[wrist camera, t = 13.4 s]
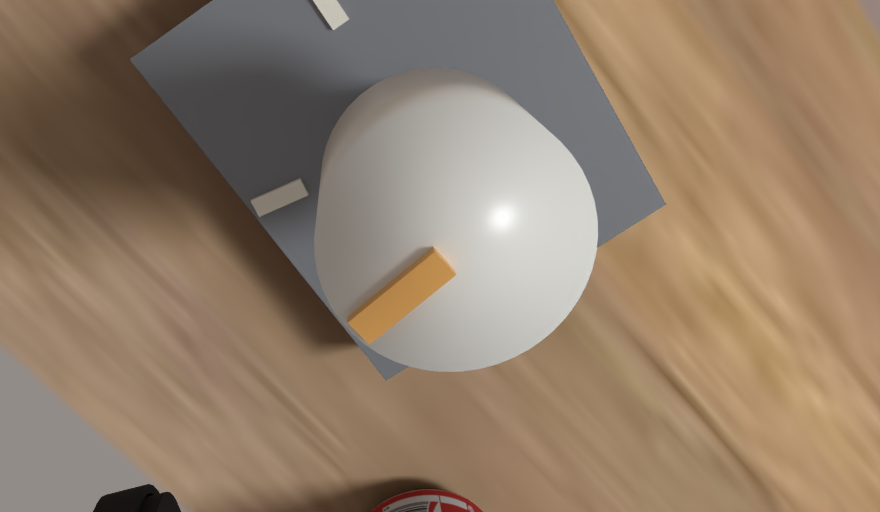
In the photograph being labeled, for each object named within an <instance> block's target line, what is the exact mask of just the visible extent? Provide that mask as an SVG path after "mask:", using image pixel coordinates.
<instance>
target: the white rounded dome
mask: <svg viewBox="0 0 880 512" xmlns="http://www.w3.org/2000/svg"><path fill="white" fill-rule="evenodd" d="M597 241H598V218H597V212H596V206H595V201H594V198H593V194H592V191H591V188H590V185H589V183H588V181H587V179H586V177H585V175H584V172H583V170H582V168H581V167H580V165H579V164H578V163H577V161H576V160H575V158H574V157H573V155H572V154H571V153H570V151H569V150H568V149H567V148H566V147H565V146H564V145H563V144H562V143H561V141H560V140H558V139H557V138H556V137H555V136H554V135H553V134H552V133H551V132H550V131H548V130H547V129H546V128H545V127H544V126H543V125H542V124H541V123H539V122H538V121H537V120H536V119H535V118H534V117H533V116H532V115H531V114H529V113H528V112H527V111H526V110H525V109H524V108H523V107H522V106H521V105H519V104H518V103H517V102H516V101H515V100H514V99H513V98H512V97H510V96H509V95H508V94H507V93H506V92H504V91H503V90H502V89H501V88H499V87H498V86H496V85H495V84H493V83H491V82H490V81H488V80H486V79H484V78H482V77H480V76H477V75H475V74H472V73H469V72H465V71H462V70H457V69H451V68H441V67H428V68H419V69H413V70H409V71H405V72H401V73H398V74H395V75H393V76H390V77H388V78H385V79H384V80H382V81H380V82H378V83H377V84H375V85H373V86H371V87H370V88H369V89H367V90H366V91H365V92H363V93H362V94H361V95H359V96H358V97H357V98H356V99H355V100H354V101H353V102H352V103H351V104H350V105H349V106H348V108H347V109H346V110H345V112H344V113H343V114H342V115H341V117H340V118H339V120H338V121H337V123H336V125H335V127H334V128H333V130H332V132H331V135H330V137H329V139H328V142H327V144H326V148H325V152H324V156H323V160H322V169H321V178H320V187H319V197H318V206H317V216H316V225H315V234H314V255H315V262H316V268H317V274H318V277H319V280H320V283H321V286H322V289H323V292H324V294H325V296H326V298H327V300H328V302H329V304H330V306H331V308H332V309H333V311H334V312H335V314H336V315H337V317H338V318H339V320H340V321H341V322H342V323H343V324H344V326H345V327H346V328H347V329H348V330H349V331H350V332H351V333H352V334H353V335H354V336H355V337H356V338H357V339H359V340H360V341H361V342H362V343H363V344H364V345H366V346H368V347H369V348H371V349H372V350H374V351H375V352H377V353H378V354H380V355H382V356H384V357H386V358H388V359H390V360H392V361H395V362H398V363H401V364H404V365H406V366H409V367H414V368H418V369H423V370H428V371H440V372H460V371H468V370H475V369H481V368H485V367H489V366H492V365H496V364H499V363H501V362H504V361H506V360H509V359H512V358H514V357H516V356H518V355H519V354H521V353H523V352H525V351H527V350H529V349H530V348H532V347H533V346H535V345H536V344H537V343H539V342H540V341H542V340H543V339H544V338H545V337H547V336H548V335H549V334H550V333H551V332H552V331H554V330H555V329H556V328H557V327H558V326H559V324H560V323H561V322H562V321H563V320H564V319H565V318H566V317H567V316H568V314H569V313H570V311H571V310H572V309H573V307H574V306H575V304H576V303H577V302H578V300H579V298H580V296H581V294H582V292H583V290H584V289H585V287H586V284H587V282H588V279H589V277H590V274H591V272H592V268H593V264H594V260H595V256H596V250H597Z"/></svg>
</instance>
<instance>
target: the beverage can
mask: <svg viewBox="0 0 880 512" xmlns="http://www.w3.org/2000/svg"><path fill="white" fill-rule="evenodd" d="M371 512H482V511H481V510H480V509H479V508H478V507H477V506H476V505H475V504H474V503H472V502H471V501H469V500H468V499H466V498H464V497H462V496H460V495H458V494H455V493H452V492H448V491H443V490H435V489H422V490H414V491H409V492H405V493H402V494H399V495H396V496H394V497H392V498H390V499H388V500H386V501H384V502H383V503H381V504H380V505H378V506H377V507H376V508H374V509H373V510H372V511H371Z"/></svg>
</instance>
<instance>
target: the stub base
mask: <svg viewBox="0 0 880 512" xmlns="http://www.w3.org/2000/svg"><path fill="white" fill-rule="evenodd" d="M129 60H130V61H131V62H132V63H133V65H134V66H135V67H136V68H137V70H138V71H139V72H140V73H141V75H142V76H143V77H144V79H145V80H146V81H147V82H148V84H149V85H150V86H151V87H152V89H153V90H154V91H155V92H156V94H157V95H158V96H159V97H160V99H161V100H162V101H163V102H164V104H165V105H166V106H167V107H168V109H169V110H170V111H171V112H172V114H173V115H174V116H175V117H176V119H177V120H178V121H179V122H180V124H181V125H182V126H183V127H184V129H185V130H186V131H187V132H188V134H189V135H190V136H191V137H192V139H193V140H194V141H195V142H196V144H197V145H198V146H199V147H200V149H201V150H202V151H203V152H204V154H205V155H206V156H207V157H208V159H209V160H210V161H211V162H212V164H213V165H214V166H215V167H216V169H217V170H218V171H219V172H220V174H221V175H222V176H223V177H224V179H225V180H226V181H227V182H228V184H229V185H230V186H231V187H232V189H233V190H234V191H235V192H236V194H237V195H238V196H239V197H240V199H241V200H242V201H243V202H244V204H245V205H246V206H247V207H248V209H249V210H250V211H251V212H252V214H253V215H254V216H255V217H256V219H257V220H258V221H259V222H260V224H261V225H262V226H263V227H264V229H265V230H266V231H267V232H268V234H269V235H270V236H271V237H272V239H273V240H274V241H275V242H276V244H277V245H278V246H279V247H280V249H281V250H282V251H283V252H284V254H285V255H286V256H287V257H288V259H289V260H290V261H291V262H292V264H293V265H294V266H295V267H296V269H297V270H298V271H299V272H300V274H301V275H302V276H303V277H304V279H305V280H306V281H307V282H308V284H309V285H310V286H311V287H312V289H313V290H314V291H315V292H316V294H317V295H318V296H319V297H320V299H321V300H322V301H323V302H324V304H325V305H326V306H327V307H328V309H329V310H330V311H331V312H332V314H333V315H334V316H335V317H336V319H337V320H338V321H339V322H340V324H341V325H342V326H343V327H344V329H345V330H346V331H347V332H348V334H349V335H350V336H351V337H352V339H353V340H354V341H355V342H356V344H357V345H358V346H359V347H360V349H361V350H362V351H363V352H364V354H365V355H366V356H367V357H368V359H369V360H370V361H371V362H372V364H373V365H374V366H375V367H376V369H377V370H378V371H379V372H380V374H381V375H382V376H383V377H384V379H385V380H387V379H389V378H391V377H392V376H394V375H395V374H397V373H399V372H400V371H402V370H403V369H405V368H407V367H408V366H406V365H404V364H401V363H398V362H395V361H392V360H390V359H388V358H386V357H384V356H382V355H380V354H378V353H377V352H375V351H374V350H372V349H371V348H369V347H368V346H366V345H364V344H363V343H362V342H361V341H360V340H359V339H357V338H356V337H355V336H354V335H353V334H352V333H351V332H350V331H349V330H348V329H347V328H346V327H345V326H344V324H343V323H342V322H341V321H340V320H339V318H338V317H337V315H336V314H335V312H334V311H333V309H332V308H331V306H330V304H329V302H328V300H327V298H326V296H325V294H324V292H323V289H322V286H321V283H320V280H319V277H318V274H317V268H316V262H315V255H314V234H315V225H316V216H317V206H318V197H319V187H320V178H321V169H322V160H323V156H324V152H325V148H326V144H327V142H328V139H329V137H330V135H331V132H332V130H333V128H334V127H335V125H336V123H337V121H338V120H339V118H340V117H341V115H342V114H343V113H344V112H345V110H346V109H347V108H348V106H349V105H350V104H351V103H352V102H353V101H354V100H355V99H356V98H357V97H358V96H359V95H361V94H362V93H363V92H365V91H366V90H367V89H369V88H370V87H371V86H373V85H375V84H377V83H378V82H380V81H382V80H384V79H385V78H388V77H390V76H393V75H395V74H398V73H401V72H405V71H409V70H413V69H419V68H428V67H441V68H451V69H457V70H462V71H465V72H469V73H472V74H475V75H477V76H480V77H482V78H484V79H486V80H488V81H490V82H491V83H493V84H495V85H496V86H498V87H499V88H501V89H502V90H503V91H504V92H506V93H507V94H508V95H509V96H510V97H512V98H513V99H514V100H515V101H516V102H517V103H518V104H519V105H521V106H522V107H523V108H524V109H525V110H526V111H527V112H528V113H529V114H531V115H532V116H533V117H534V118H535V119H536V120H537V121H538V122H539V123H541V124H542V125H543V126H544V127H545V128H546V129H547V130H548V131H550V132H551V133H552V134H553V135H554V136H555V137H556V138H557V139H558V140H560V141H561V143H562V144H563V145H564V146H565V147H566V148H567V149H568V150H569V151H570V153H571V154H572V155H573V157H574V158H575V160H576V161H577V163H578V164H579V165H580V167H581V168H582V170H583V172H584V175H585V177H586V179H587V181H588V183H589V185H590V188H591V191H592V194H593V198H594V201H595V206H596V212H597V218H598V241H597V247H599V246H601V245H602V244H604V243H605V242H607V241H608V240H610V239H612V238H613V237H615V236H616V235H618V234H620V233H621V232H623V231H624V230H626V229H628V228H629V227H631V226H632V225H634V224H636V223H637V222H639V221H640V220H642V219H643V218H645V217H647V216H648V215H650V214H651V213H653V212H655V211H656V210H658V209H659V208H661V207H663V206H664V205H666V203H665V202H664V200H663V198H662V196H661V194H660V192H659V191H658V189H657V187H656V185H655V183H654V182H653V180H652V178H651V176H650V174H649V173H648V171H647V169H646V167H645V165H644V164H643V162H642V160H641V158H640V156H639V154H638V153H637V151H636V149H635V147H634V145H633V144H632V142H631V140H630V138H629V136H628V135H627V133H626V131H625V129H624V127H623V126H622V124H621V122H620V120H619V118H618V116H617V115H616V113H615V111H614V109H613V107H612V106H611V104H610V102H609V100H608V98H607V97H606V95H605V93H604V91H603V89H602V87H601V86H600V84H599V82H598V80H597V78H596V77H595V75H594V73H593V71H592V69H591V68H590V66H589V64H588V62H587V60H586V59H585V57H584V55H583V53H582V51H581V49H580V48H579V46H578V44H577V42H576V40H575V39H574V37H573V35H572V33H571V31H570V30H569V28H568V26H567V24H566V22H565V21H564V19H563V17H562V15H561V13H560V11H559V10H558V8H557V6H556V4H555V2H554V1H553V0H212V1H211V2H209V3H208V4H206V5H205V6H204V7H202V8H201V9H199V10H198V11H197V12H195V13H194V14H192V15H191V16H190V17H188V18H187V19H185V20H184V21H183V22H181V23H180V24H178V25H177V26H176V27H174V28H173V29H171V30H170V31H169V32H167V33H166V34H164V35H163V36H162V37H160V38H159V39H157V40H156V41H155V42H153V43H152V44H150V45H149V46H148V47H146V48H145V49H143V50H142V51H141V52H139V53H138V54H136V55H135V56H134V57H132V58H131V59H129Z"/></svg>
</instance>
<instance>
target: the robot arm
mask: <svg viewBox="0 0 880 512" xmlns="http://www.w3.org/2000/svg"><path fill="white" fill-rule="evenodd" d="M93 512H181V511H180V508H179V506H178V503H177V501H176V499H175V498H174V496H173V495H172V494H171V493H170V492H164V493H161V494H160V493H159V491H158V490H157V489H156V488H155V487H154V486H153V485H150V484H147V485H143V486H139V487H135V488H131V489H128V490H123V491H119V492H115V493H112V494H107V495H105V496H103V497H101V498H100V500H99V501H98V503H97V505H96V507H95V509H94V511H93Z"/></svg>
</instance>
